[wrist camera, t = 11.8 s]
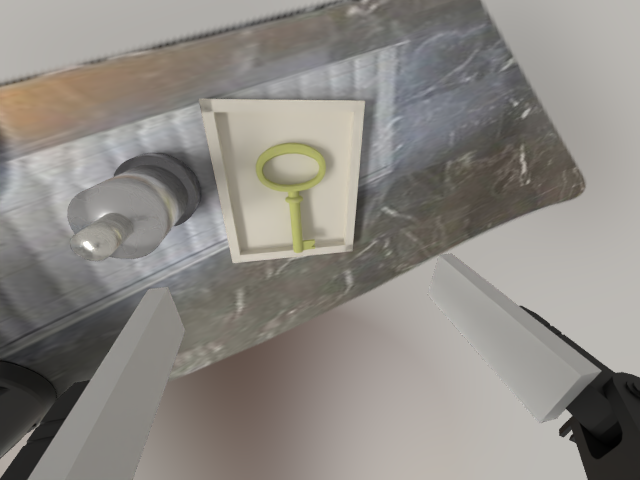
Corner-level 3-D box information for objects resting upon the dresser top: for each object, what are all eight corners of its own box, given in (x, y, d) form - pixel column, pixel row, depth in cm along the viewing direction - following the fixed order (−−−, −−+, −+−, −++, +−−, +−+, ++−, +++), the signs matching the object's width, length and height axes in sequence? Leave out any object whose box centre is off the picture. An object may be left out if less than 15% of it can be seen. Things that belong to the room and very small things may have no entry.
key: (294, 249, 31) (296, 258, 29) (248, 156, 24) (246, 159, 23) (346, 228, 31) (351, 235, 29) (313, 129, 24) (317, 130, 22)
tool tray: (234, 256, 30) (232, 263, 29) (202, 99, 22) (198, 98, 20) (349, 245, 33) (352, 251, 31) (359, 100, 24) (365, 100, 23)
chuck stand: (138, 221, 26) (54, 298, 16) (111, 153, 22) (-20, 194, 12) (207, 217, 27) (171, 285, 17) (191, 151, 24) (133, 187, 13)
